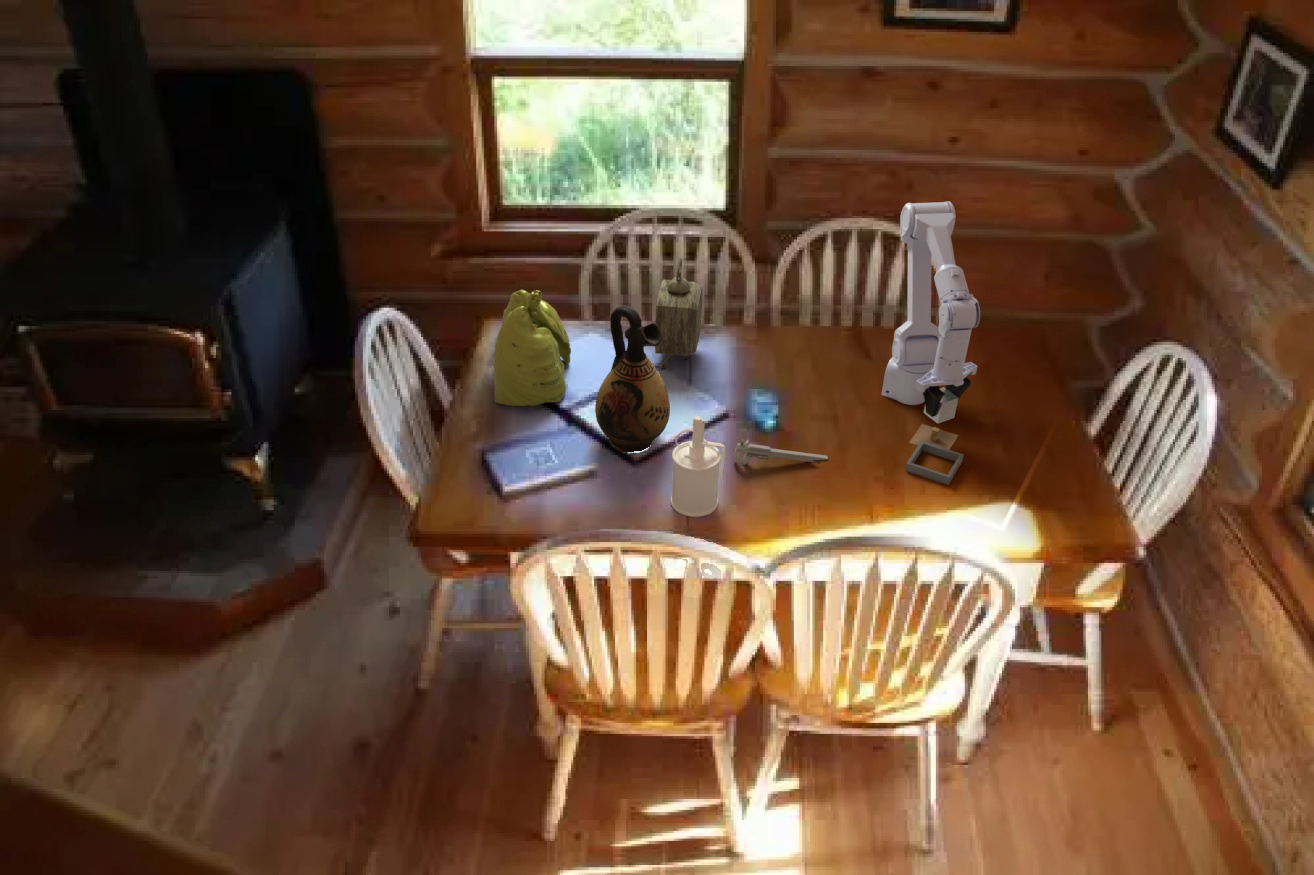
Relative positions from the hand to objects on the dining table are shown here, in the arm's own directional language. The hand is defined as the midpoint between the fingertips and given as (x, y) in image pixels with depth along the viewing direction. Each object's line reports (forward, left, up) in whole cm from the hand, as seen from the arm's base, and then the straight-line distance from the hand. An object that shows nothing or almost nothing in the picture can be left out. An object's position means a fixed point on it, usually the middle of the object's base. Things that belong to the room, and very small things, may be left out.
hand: (939, 410), depth 228 cm
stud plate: (0, 0, -8) cm, 8 cm away
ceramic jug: (-55, -32, -8) cm, 64 cm away
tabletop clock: (-62, +1, -8) cm, 63 cm away
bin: (+3, -9, -8) cm, 12 cm away
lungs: (-84, -25, -8) cm, 88 cm away
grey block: (0, 0, -1) cm, 1 cm away
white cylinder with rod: (-33, -43, -8) cm, 55 cm away
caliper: (-24, -23, -9) cm, 34 cm away
